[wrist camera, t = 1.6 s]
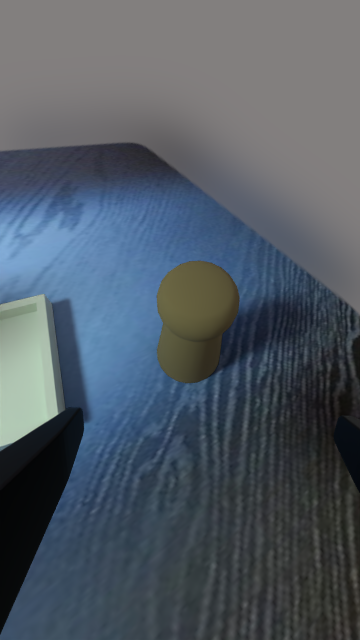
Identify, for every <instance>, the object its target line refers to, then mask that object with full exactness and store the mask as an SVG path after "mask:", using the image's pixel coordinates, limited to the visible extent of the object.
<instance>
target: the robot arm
mask: <svg viewBox="0 0 360 640" xmlns="http://www.w3.org/2000/svg"><path fill="white" fill-rule="evenodd" d="M83 432H84V421H83V411H82V409H81V408H80V407H69V408H67V409H66V410H64V411H62V412H61V413H59V414H58V415H56V416H55V417H53V418H51V419H50V420H48V421H47V422H45V423H44V424H42V425H40V426H39V427H37V428H36V429H34V430H33V431H31V432H29V433H28V434H26V435H25V436H23V437H22V438H20V439H18V440H17V441H15V442H14V443H12V444H11V445H9V446H7V447H6V448H4V449H3V450H1V451H0V634H1V632H2V629H3V627H4V625H5V622H6V620H7V618H8V616H9V613H10V611H11V609H12V607H13V604H14V602H15V600H16V597H17V595H18V593H19V591H20V588H21V586H22V584H23V582H24V579H25V577H26V575H27V573H28V570H29V568H30V566H31V563H32V561H33V559H34V557H35V554H36V552H37V550H38V548H39V545H40V543H41V541H42V538H43V536H44V534H45V532H46V529H47V527H48V525H49V523H50V520H51V518H52V516H53V513H54V511H55V509H56V507H57V504H58V502H59V500H60V498H61V495H62V493H63V491H64V489H65V486H66V484H67V481H68V479H69V476H70V473H71V470H72V467H73V464H74V461H75V458H76V455H77V452H78V449H79V445H80V442H81V439H82V436H83ZM334 441H335V444H336V446H337V448H338V450H339V452H340V454H341V456H342V458H343V460H344V462H345V465H346V467H347V469H348V471H349V473H350V475H351V477H352V479H353V481H354V483H355V485H356V487H357V489H358V491H359V492H360V420H359V419H357V418H355V417H353V416H340V417H339V418H338V421H337V424H336V428H335V432H334Z"/></svg>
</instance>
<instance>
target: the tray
mask: <svg viewBox="0 0 360 640" xmlns="http://www.w3.org/2000/svg"><path fill="white" fill-rule="evenodd" d="M64 410H65V402H64V394H63V387H62V379H61V371H60V363H59V355H58V348H57V340H56V332H55V324H54V317H53V309H52V303H51V302H50V301H49V299H48V298H47V297H46V296H45V294H42V295H38V296H33V297H29V298H25V299H21V300H17V301H13V302H9V303H4V304H0V451H1V450H3V449H4V448H6V447H7V446H9V445H11V444H12V443H14V442H15V441H17V440H18V439H20V438H22V437H23V436H25V435H26V434H28V433H29V432H31V431H33V430H34V429H36V428H37V427H39V426H40V425H42V424H44V423H45V422H47V421H48V420H50V419H51V418H53V417H55V416H56V415H58V414H59V413H61V412H62V411H64Z"/></svg>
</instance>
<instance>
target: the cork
mask: <svg viewBox="0 0 360 640" xmlns="http://www.w3.org/2000/svg"><path fill="white" fill-rule="evenodd" d="M157 307H158V313H159V315H160V317H161V319H162V322H163V327H162V331H161V335H160V339H159V343H158V348H157V357H158V361H159V364H160V366H161V368H162V369H163V370H164V372H165V373H166V374H167V375H168V376H169V377H171V378H173V379H174V380H176V381H179V382H184V383H195V382H199V381H202V380H204V379H206V378H208V377H209V376H210V375H211V374H212V373H213V372H214V371H215V369H216V367H217V365H218V363H219V357H220V350H221V342H222V334H223V333H224V332H225V331H226V330H227V329H228V328H229V327H230V326H231V324H232V323H233V321H234V319H235V317H236V315H237V313H238V308H239V293H238V289H237V286H236V284H235V283H234V281H233V279H232V278H231V276H230V275H229V274H228V273H227V272H226V271H225V270H223V269H222V268H221V267H219V266H217V265H215V264H213V263H209V262H204V261H189V262H186V263H183V264H180V265H179V266H177V267H176V268H174V269H173V270H171V271H170V272H168V273H167V275H166V276H165V277H164V279H163V280H162V281H161V284H160V287H159V290H158V293H157Z"/></svg>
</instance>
